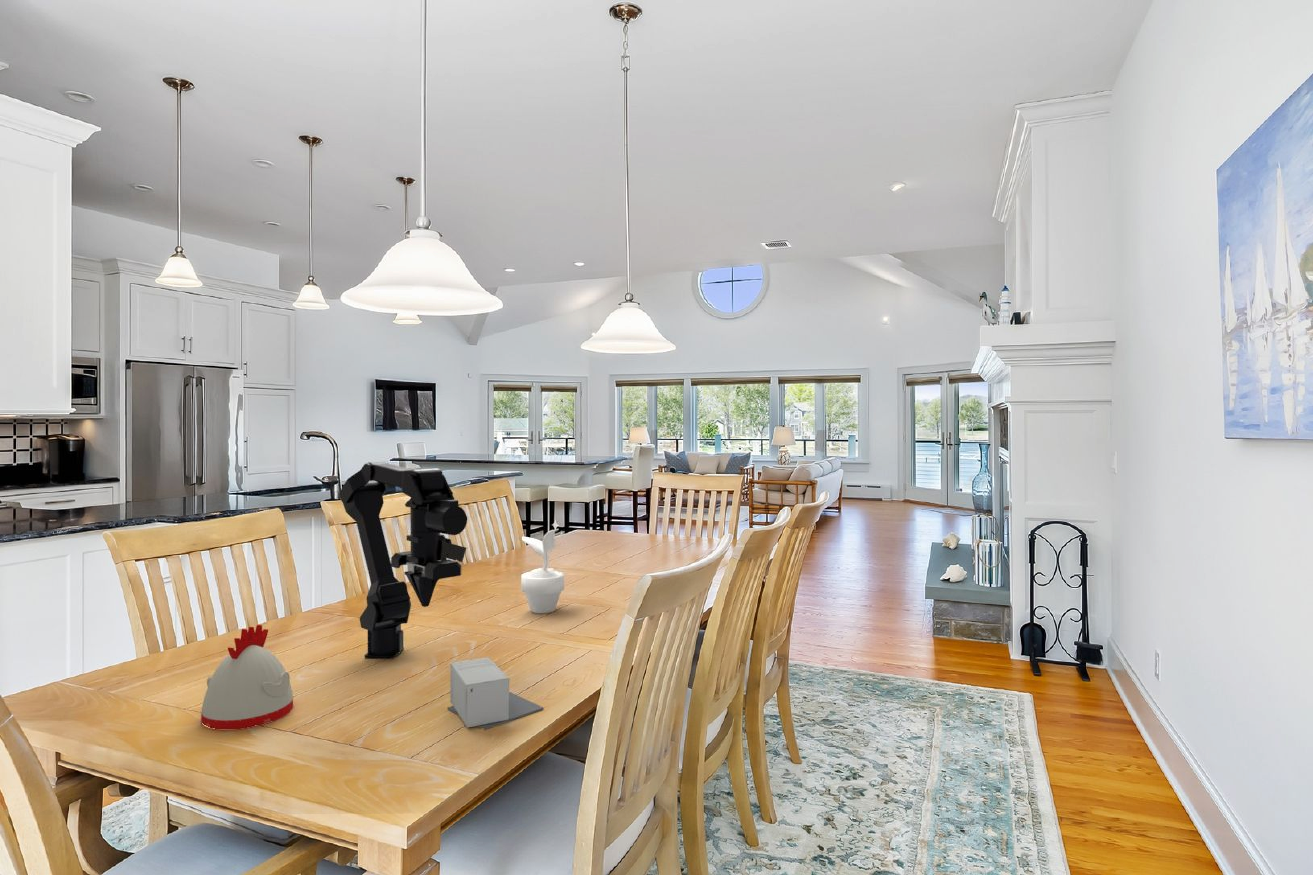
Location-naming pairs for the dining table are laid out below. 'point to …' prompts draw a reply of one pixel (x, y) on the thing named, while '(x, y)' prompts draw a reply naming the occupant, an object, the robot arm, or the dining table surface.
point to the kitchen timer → (247, 686)
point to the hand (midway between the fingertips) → (425, 606)
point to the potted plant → (543, 577)
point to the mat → (512, 709)
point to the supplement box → (479, 691)
